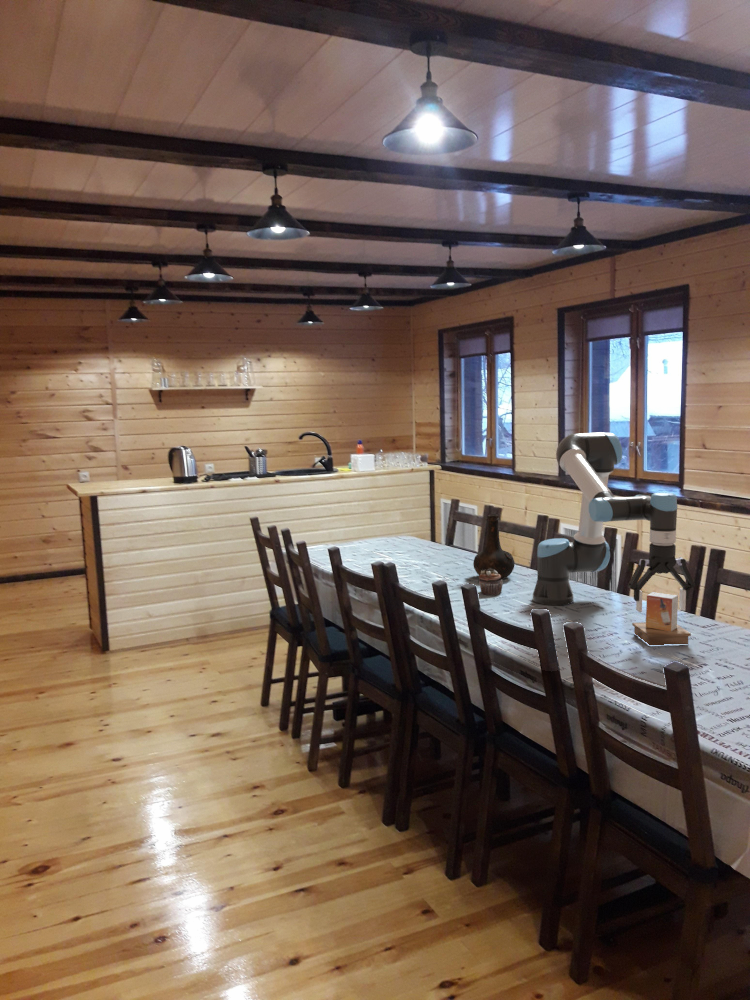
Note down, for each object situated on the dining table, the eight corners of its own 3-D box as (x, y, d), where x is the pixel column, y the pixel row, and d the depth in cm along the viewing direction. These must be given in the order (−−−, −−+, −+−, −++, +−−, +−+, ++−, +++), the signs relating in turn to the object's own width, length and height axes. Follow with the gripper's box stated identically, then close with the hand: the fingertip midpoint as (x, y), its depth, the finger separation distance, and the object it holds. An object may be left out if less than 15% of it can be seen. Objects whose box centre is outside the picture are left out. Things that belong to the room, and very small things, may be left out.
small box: (645, 627, 230) (645, 594, 229) (651, 623, 234) (652, 591, 233) (671, 632, 225) (672, 598, 224) (677, 627, 229) (678, 594, 228)
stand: (632, 634, 236) (632, 622, 236) (672, 633, 237) (672, 621, 236) (648, 647, 224) (648, 634, 223) (690, 646, 224) (690, 633, 223)
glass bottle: (502, 584, 309) (502, 518, 306) (465, 579, 320) (465, 515, 317) (521, 576, 323) (521, 513, 320) (485, 572, 334) (485, 511, 331)
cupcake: (492, 597, 289) (492, 572, 288) (474, 592, 296) (473, 568, 295) (508, 592, 295) (508, 568, 294) (490, 588, 303) (489, 564, 301)
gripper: (626, 546, 223) (625, 614, 225) (708, 544, 223) (705, 612, 226) (618, 542, 230) (616, 608, 233) (697, 540, 231) (694, 605, 233)
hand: (660, 610), depth 229 cm, fingers open, 13 cm apart
